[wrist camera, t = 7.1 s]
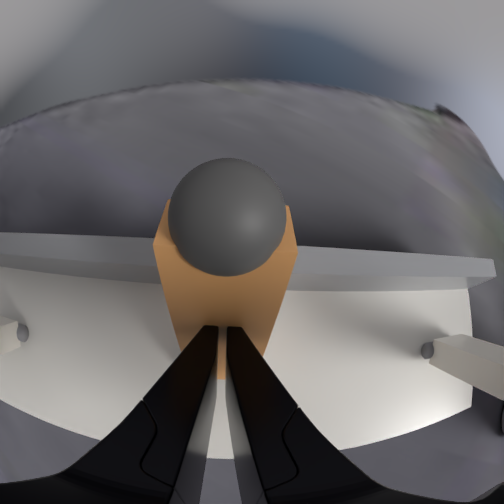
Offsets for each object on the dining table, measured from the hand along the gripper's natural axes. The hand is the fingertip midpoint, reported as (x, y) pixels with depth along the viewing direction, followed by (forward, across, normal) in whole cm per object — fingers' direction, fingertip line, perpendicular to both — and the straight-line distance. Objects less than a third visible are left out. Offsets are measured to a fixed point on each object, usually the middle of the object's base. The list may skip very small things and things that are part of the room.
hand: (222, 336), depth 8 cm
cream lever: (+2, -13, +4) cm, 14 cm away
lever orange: (+2, 0, +4) cm, 5 cm away
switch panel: (+5, 0, +6) cm, 8 cm away
